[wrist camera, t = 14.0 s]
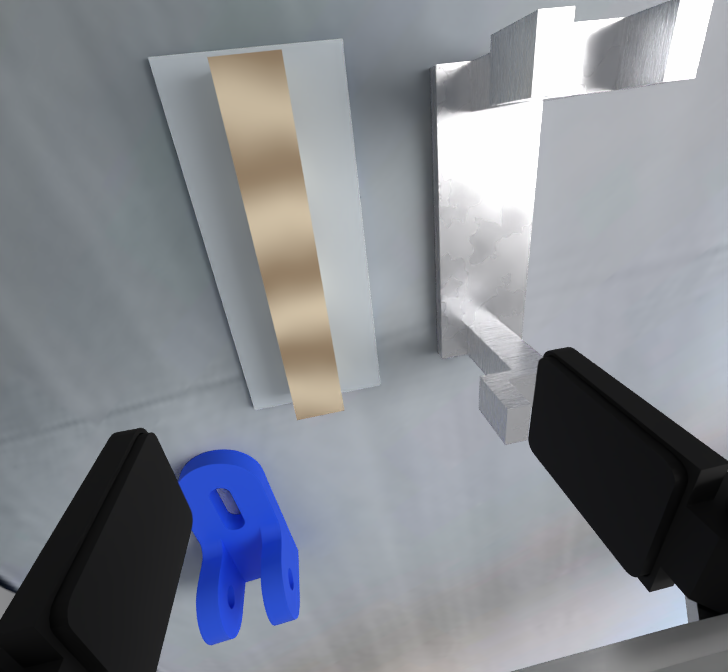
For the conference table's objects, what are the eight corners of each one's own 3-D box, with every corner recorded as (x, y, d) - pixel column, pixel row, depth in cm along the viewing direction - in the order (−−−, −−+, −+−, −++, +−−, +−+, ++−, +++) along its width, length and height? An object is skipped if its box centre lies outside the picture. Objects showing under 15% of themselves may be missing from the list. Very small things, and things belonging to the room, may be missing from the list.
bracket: (298, 549, 46) (300, 633, 38) (229, 569, 46) (218, 658, 38) (250, 439, 38) (240, 516, 30) (165, 462, 37) (133, 547, 29)
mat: (151, 59, 24) (147, 57, 23) (341, 40, 25) (342, 38, 25) (255, 406, 36) (254, 410, 36) (379, 381, 38) (380, 385, 37)
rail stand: (430, 67, 27) (538, 9, 15) (536, 56, 28) (715, -8, 16) (437, 352, 37) (505, 444, 26) (514, 338, 38) (613, 420, 27)
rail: (218, 70, 24) (207, 57, 21) (282, 63, 25) (281, 49, 21) (296, 392, 36) (297, 420, 32) (338, 384, 36) (344, 410, 33)
